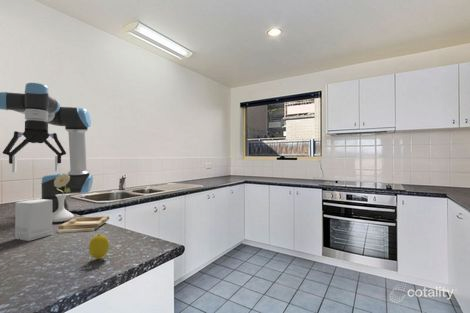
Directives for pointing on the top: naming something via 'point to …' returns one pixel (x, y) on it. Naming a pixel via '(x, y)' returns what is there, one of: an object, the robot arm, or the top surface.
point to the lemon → (98, 246)
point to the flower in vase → (62, 200)
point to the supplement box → (33, 219)
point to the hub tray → (82, 224)
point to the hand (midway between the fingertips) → (36, 171)
